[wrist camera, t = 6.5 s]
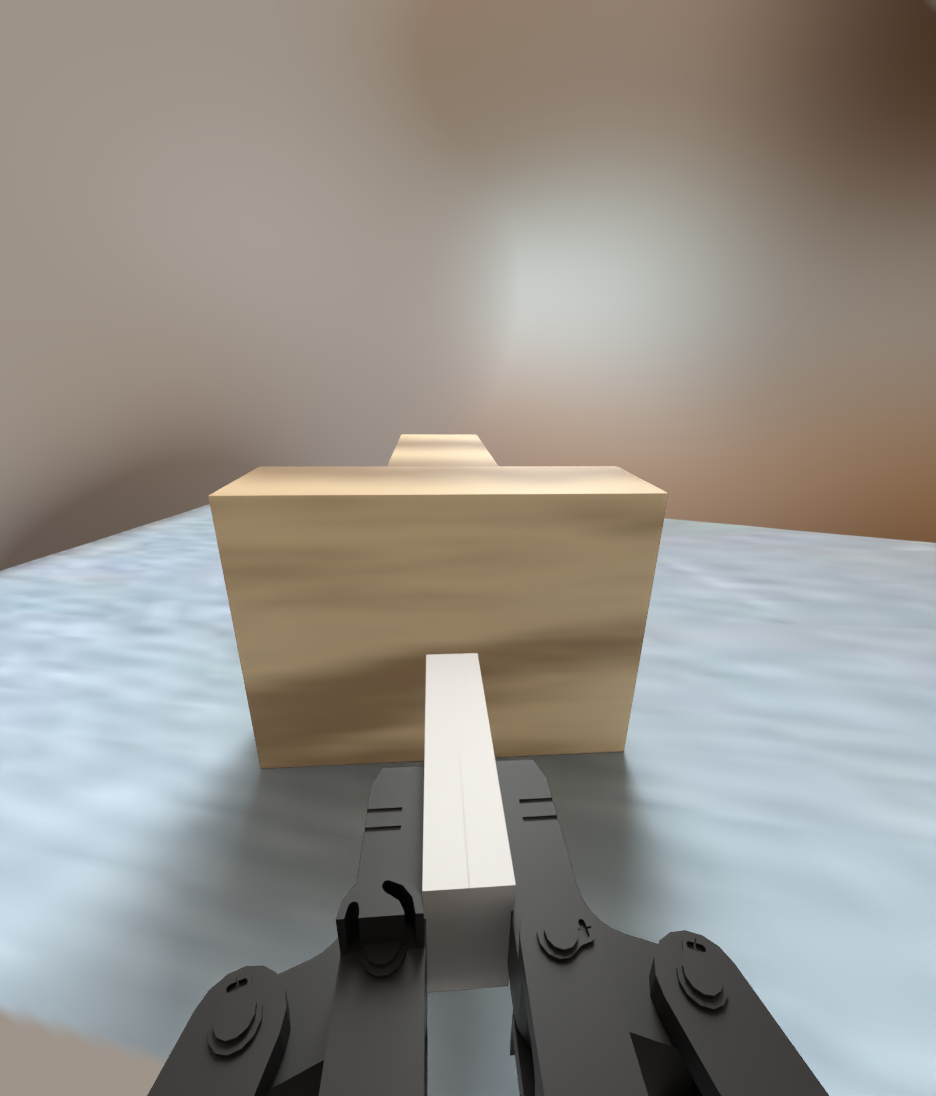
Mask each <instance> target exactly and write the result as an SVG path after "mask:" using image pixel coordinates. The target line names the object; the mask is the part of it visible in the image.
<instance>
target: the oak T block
mask: <svg viewBox="0 0 936 1096" xmlns="http://www.w3.org/2000/svg"><path fill="white" fill-rule="evenodd" d="M667 498H668V493H667V492H665V491H663V490H661V489H659V488H657V487H655V486H653V485H651V484H649V483H647V482H646V481H644V480H642V479H640V478H638V477H636V476H634V475H632V474H630V473H628V472H627V471H624V470H623V469H621V468H619V467H617V466H601V467H600V466H594V467H592V466H581V467H580V466H574V467H573V466H567V467H565V466H564V467H563V466H562V467H558V466H557V467H556V466H555V467H554V466H553V467H551V466H549V467H547V466H545V467H543V466H540V467H539V466H538V467H535V466H533V467H530V466H529V467H527V466H525V467H499V466H498V465H497V464H496V463H495V461H494V459H493V458H492V457H491V455H490V453H489V452H488V451H487V449H486V448H485V447H484V445H483V443H482V442H481V441H480V439H479V438H478V436H477V435H425V434H423V435H422V434H421V435H419V434H410V435H409V434H402V435H401V437H400V439H399V441H398V444H397V446H396V448H395V450H394V452H393V455H392V457H391V459H390V461H389V463H388V466H387V467H258V468H257V469H255V470H253V471H251V472H250V473H248V474H246V475H244V476H242V477H241V478H239V479H237V480H235V481H234V482H232V483H230V484H228V485H227V486H225V487H223V488H221V489H220V490H218V491H216V492H214V493H213V494H211V495H209V501H210V506H211V511H212V517H213V522H214V527H215V532H216V538H217V543H218V548H219V553H220V558H221V564H222V569H223V574H224V579H225V584H226V590H227V595H228V600H229V605H230V611H231V616H232V621H233V626H234V631H235V637H236V642H237V647H238V652H239V658H240V663H241V668H242V673H243V678H244V684H245V689H246V694H247V699H248V705H249V710H250V715H251V720H252V725H253V731H254V736H255V741H256V746H257V751H258V757H259V762H260V767H261V769H262V768H283V767H304V766H325V765H346V764H367V763H388V762H409V761H424V760H425V699H426V655H431V654H464V653H478V659H479V665H480V671H481V677H482V683H483V689H484V695H485V701H486V707H487V713H488V719H489V726H490V732H491V738H492V744H493V750H494V756H495V757H513V756H534V755H555V754H576V753H597V752H618V751H624V747H625V742H626V736H627V730H628V724H629V719H630V713H631V707H632V701H633V695H634V690H635V684H636V678H637V672H638V666H639V661H640V655H641V649H642V643H643V637H644V632H645V626H646V620H647V614H648V608H649V603H650V597H651V591H652V585H653V579H654V574H655V568H656V562H657V556H658V550H659V545H660V539H661V533H662V527H663V522H664V516H665V510H666V504H667Z"/></svg>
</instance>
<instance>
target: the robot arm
mask: <svg viewBox="0 0 936 1096" xmlns="http://www.w3.org/2000/svg"><path fill="white" fill-rule="evenodd" d="M336 925H337V932H338V938H337V939H336V941H335V942H334V943H333V944H332V945H331V946H329V947H328V948H327V949H326V950H325V951H324V952H323V953H321V954H319V955H318V956H316V957H314V958H312V959H311V960H309V961H307V962H304V963H302V964H300V965H298V966H296V967H293V968H291V969H289V970H287V971H285V972H283V973H280V974H277V973H276V972H274V971H272V970H270V969H268V968H267V967H265V966H246V967H244V968H241V969H239V970H237V971H235V972H232V973H230V974H228V975H227V976H225V977H224V978H223V979H222V980H221V981H220V982H218V983H217V984H216V985H215V986H214V987H212V988H211V989H210V990H209V991H208V993H207V994H206V996H205V997H204V998H203V1000H202V1001H201V1003H200V1004H199V1005H198V1007H197V1008H196V1009H195V1011H194V1013H193V1014H192V1016H191V1018H190V1020H189V1022H188V1023H187V1025H186V1027H185V1029H184V1031H183V1032H182V1034H181V1036H180V1038H179V1040H178V1041H177V1043H176V1045H175V1047H174V1049H173V1050H172V1052H171V1054H170V1056H169V1058H168V1059H167V1061H166V1063H165V1065H164V1067H163V1068H162V1070H161V1072H160V1074H159V1076H158V1077H157V1079H156V1081H155V1083H154V1085H153V1087H152V1088H151V1090H150V1092H149V1094H148V1096H427V1050H428V1038H427V993H430V992H442V991H454V990H465V989H477V988H489V987H501V986H508V980H510V988H511V995H512V1003H513V1015H512V1027H511V1041H510V1055H515V1058H516V1066H517V1075H518V1083H519V1091H520V1096H829V1095H828V1093H827V1092H826V1091H825V1089H824V1088H823V1086H822V1085H821V1084H820V1082H819V1081H818V1079H817V1078H816V1077H815V1075H814V1074H813V1072H812V1071H811V1070H810V1068H809V1067H808V1066H807V1064H806V1063H805V1061H804V1060H803V1059H802V1057H801V1056H800V1054H799V1053H798V1052H797V1050H796V1049H795V1047H794V1046H793V1045H792V1043H791V1042H790V1040H789V1039H788V1038H787V1036H786V1035H785V1033H784V1032H783V1031H782V1029H781V1028H780V1026H779V1025H778V1024H777V1022H776V1021H775V1019H774V1018H773V1017H772V1015H771V1014H770V1012H769V1011H768V1010H767V1008H766V1007H765V1005H764V1004H763V1003H762V1001H761V1000H760V999H759V997H758V996H757V994H756V993H755V992H754V990H753V989H752V987H751V986H750V985H749V983H748V982H747V980H746V979H745V978H744V976H743V975H742V973H741V972H740V971H739V969H738V968H737V966H736V965H735V964H734V963H733V961H732V960H731V959H730V958H729V957H728V956H727V955H726V954H725V953H724V952H723V950H722V949H721V948H720V947H719V946H717V945H716V944H714V943H713V942H711V941H710V940H708V939H707V938H705V937H704V936H702V935H699V934H695V933H692V932H689V931H685V930H684V931H677V932H670V933H669V934H668V935H666V936H665V937H664V938H663V939H661V940H660V941H659V944H656V943H653V942H649V941H646V940H643V939H640V938H636V937H633V936H630V935H626V934H623V933H621V932H619V931H616V930H614V929H612V928H610V927H609V926H607V925H606V924H604V923H603V922H601V921H600V920H599V919H598V918H597V917H596V916H595V915H594V914H593V913H592V912H591V911H590V910H589V908H588V907H587V905H586V904H585V902H584V901H583V899H582V897H581V895H580V892H579V890H578V887H577V884H576V880H575V877H574V873H573V870H572V866H571V863H570V859H569V856H568V852H567V849H566V845H565V842H564V838H563V834H562V831H561V827H560V824H559V820H558V819H557V813H556V810H555V806H554V803H553V802H552V796H551V792H550V789H549V785H548V781H547V778H546V776H545V775H544V773H543V772H542V771H541V770H540V768H539V767H538V766H537V764H536V763H535V762H534V761H533V759H528V760H507V761H495V756H494V750H493V744H492V738H491V732H490V726H489V719H488V713H487V707H486V701H485V695H484V689H483V683H482V677H481V671H480V665H479V659H478V653H464V654H431V655H426V699H425V760H424V766H410V767H389V768H382V769H381V771H380V772H379V774H378V776H377V777H376V779H375V781H374V782H373V784H372V786H371V787H370V794H369V801H368V808H367V815H366V822H365V832H364V836H363V843H362V850H361V857H360V864H359V870H358V877H357V884H356V885H355V886H354V887H353V888H352V889H351V891H350V892H349V893H348V895H347V896H346V897H345V898H344V900H343V901H342V903H341V906H340V909H339V912H338V915H337V918H336Z"/></svg>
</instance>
